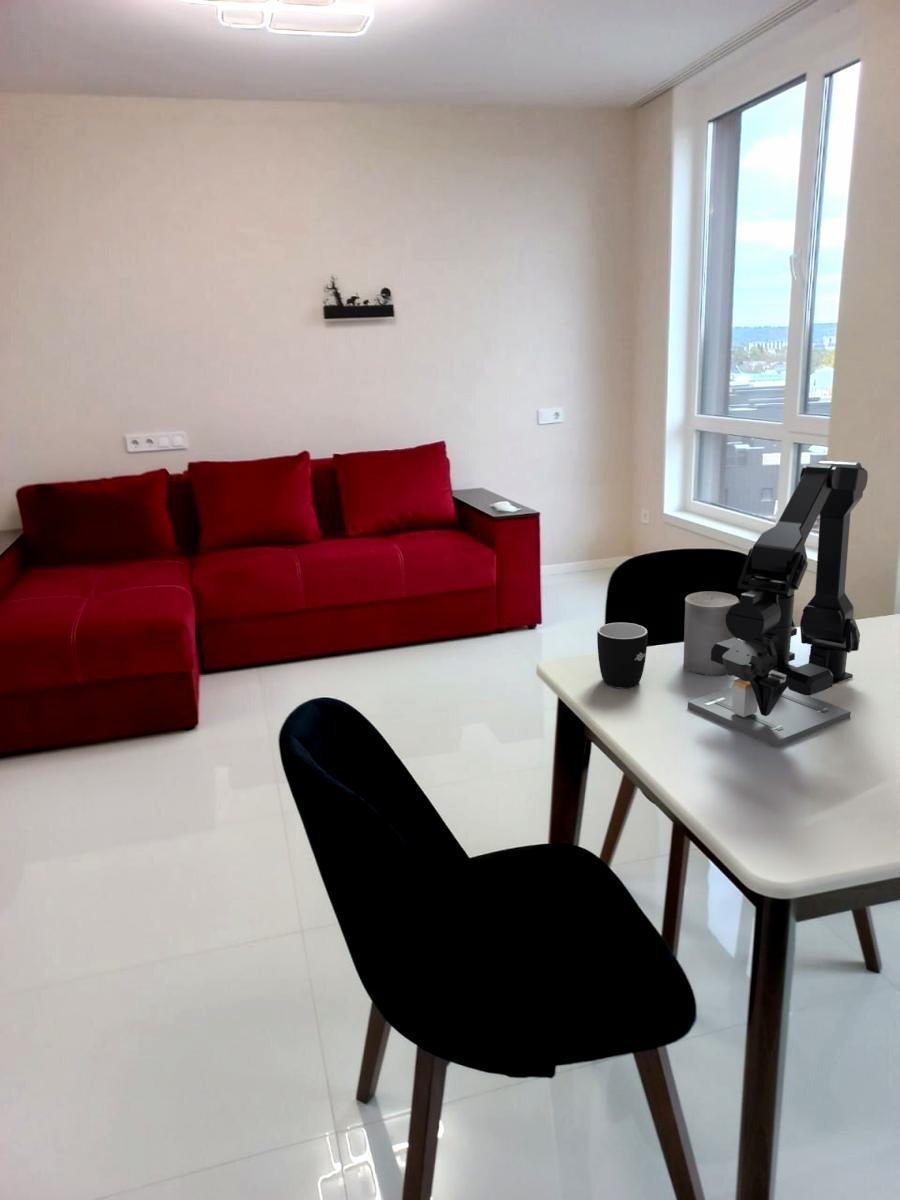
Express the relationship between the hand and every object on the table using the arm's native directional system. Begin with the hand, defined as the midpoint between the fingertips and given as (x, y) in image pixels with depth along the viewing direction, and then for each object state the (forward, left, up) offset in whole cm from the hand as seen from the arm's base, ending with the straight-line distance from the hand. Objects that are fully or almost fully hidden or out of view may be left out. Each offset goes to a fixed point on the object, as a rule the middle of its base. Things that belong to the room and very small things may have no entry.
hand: (765, 715), depth 129 cm
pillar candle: (-13, -24, -3) cm, 27 cm away
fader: (0, -4, -1) cm, 4 cm away
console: (-5, -4, -3) cm, 7 cm away
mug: (+4, -29, -3) cm, 29 cm away
